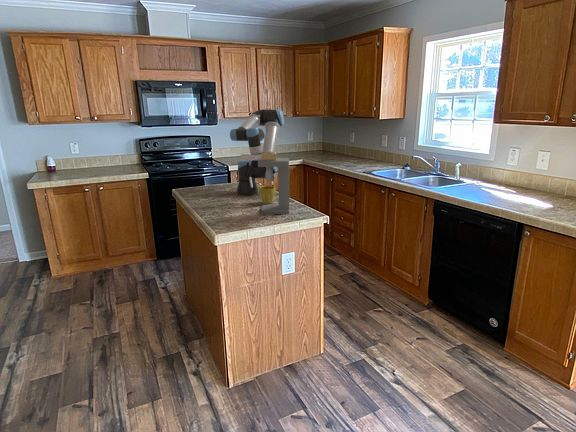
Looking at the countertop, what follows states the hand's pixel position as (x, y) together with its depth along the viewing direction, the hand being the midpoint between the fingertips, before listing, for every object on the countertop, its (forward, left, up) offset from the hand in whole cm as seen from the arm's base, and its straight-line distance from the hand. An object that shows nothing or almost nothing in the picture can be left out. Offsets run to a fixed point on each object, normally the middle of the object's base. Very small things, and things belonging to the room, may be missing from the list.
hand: (262, 186), depth 239 cm
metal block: (+23, -1, +20) cm, 30 cm away
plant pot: (+4, +3, -10) cm, 11 cm away
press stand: (+23, +8, -10) cm, 26 cm away
